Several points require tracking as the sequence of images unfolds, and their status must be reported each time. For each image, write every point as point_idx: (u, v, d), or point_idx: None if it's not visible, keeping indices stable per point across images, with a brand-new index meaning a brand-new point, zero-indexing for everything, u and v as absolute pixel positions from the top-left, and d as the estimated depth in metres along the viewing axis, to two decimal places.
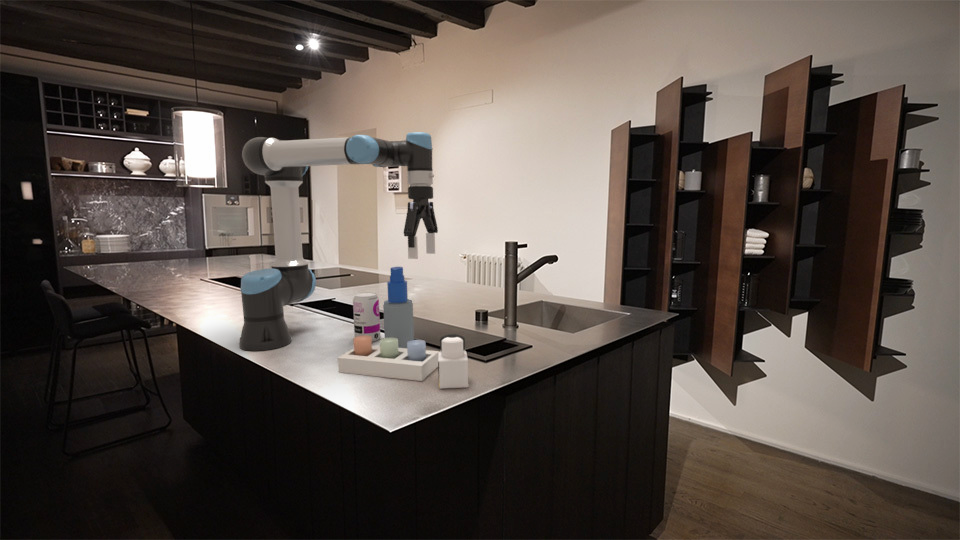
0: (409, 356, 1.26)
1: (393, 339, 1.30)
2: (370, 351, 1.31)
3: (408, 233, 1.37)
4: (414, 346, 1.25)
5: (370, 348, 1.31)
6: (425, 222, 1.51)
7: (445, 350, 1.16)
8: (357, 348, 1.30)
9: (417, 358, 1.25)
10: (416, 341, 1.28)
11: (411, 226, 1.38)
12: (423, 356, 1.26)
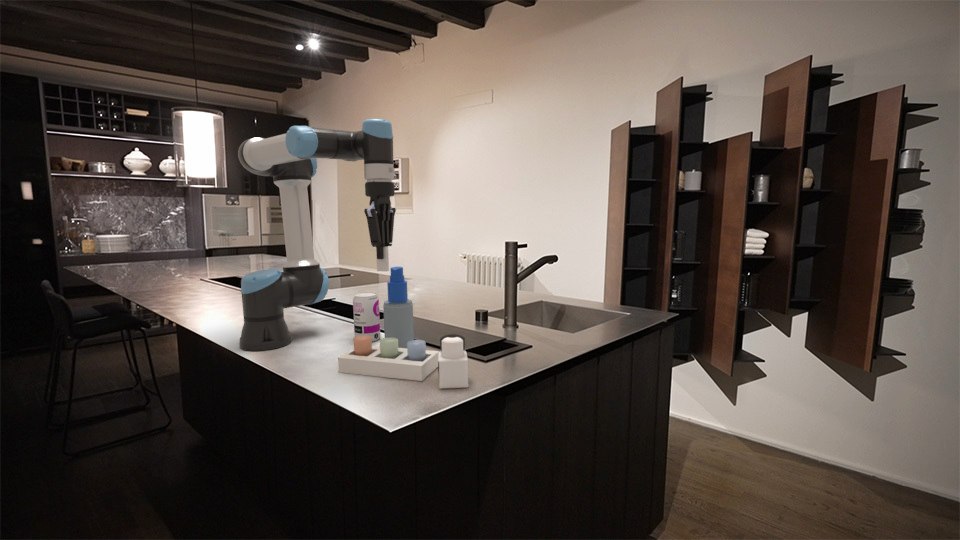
0: (409, 356, 1.26)
1: (393, 339, 1.30)
2: (370, 351, 1.31)
3: (376, 244, 1.25)
4: (414, 346, 1.25)
5: (370, 348, 1.31)
6: None
7: (445, 350, 1.16)
8: (357, 348, 1.30)
9: (417, 358, 1.25)
10: (416, 341, 1.28)
11: (377, 237, 1.23)
12: (423, 356, 1.26)
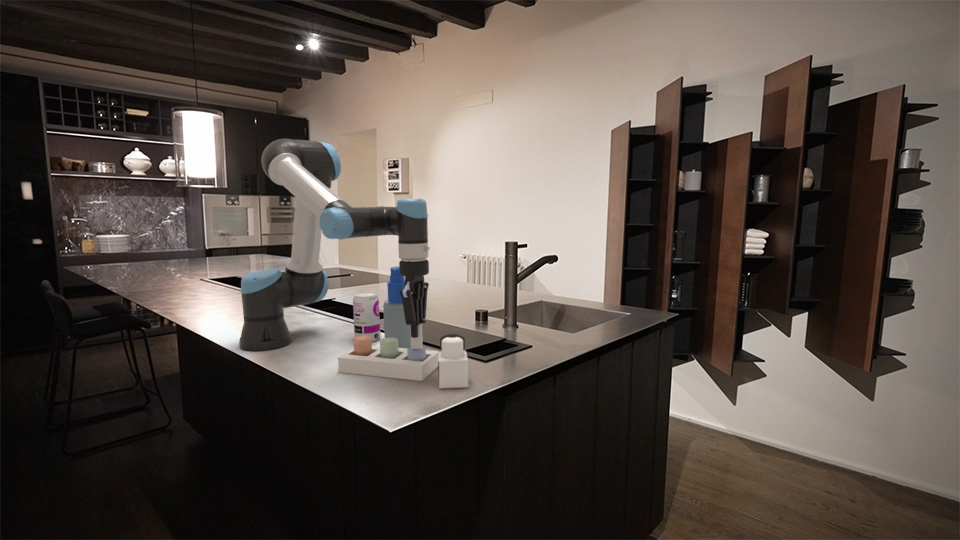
0: None
1: (393, 339, 1.30)
2: (370, 351, 1.31)
3: (411, 324, 1.23)
4: (414, 353, 1.25)
5: (370, 348, 1.31)
6: None
7: (445, 350, 1.16)
8: (357, 348, 1.30)
9: None
10: None
11: (412, 317, 1.22)
12: None
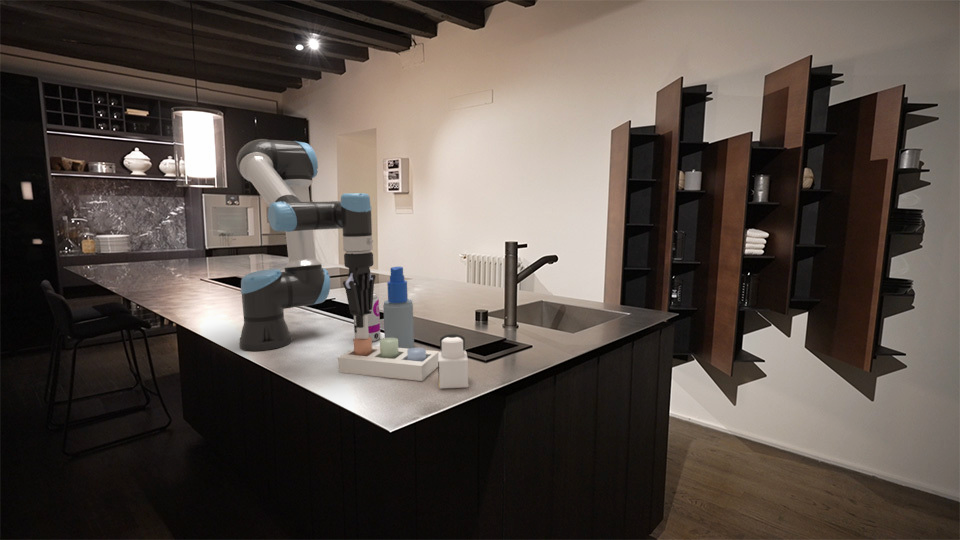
0: None
1: (393, 339, 1.30)
2: (370, 352, 1.31)
3: (355, 314, 1.27)
4: (414, 354, 1.25)
5: (370, 349, 1.31)
6: None
7: (445, 350, 1.16)
8: (357, 349, 1.30)
9: None
10: (416, 349, 1.28)
11: (356, 307, 1.26)
12: None
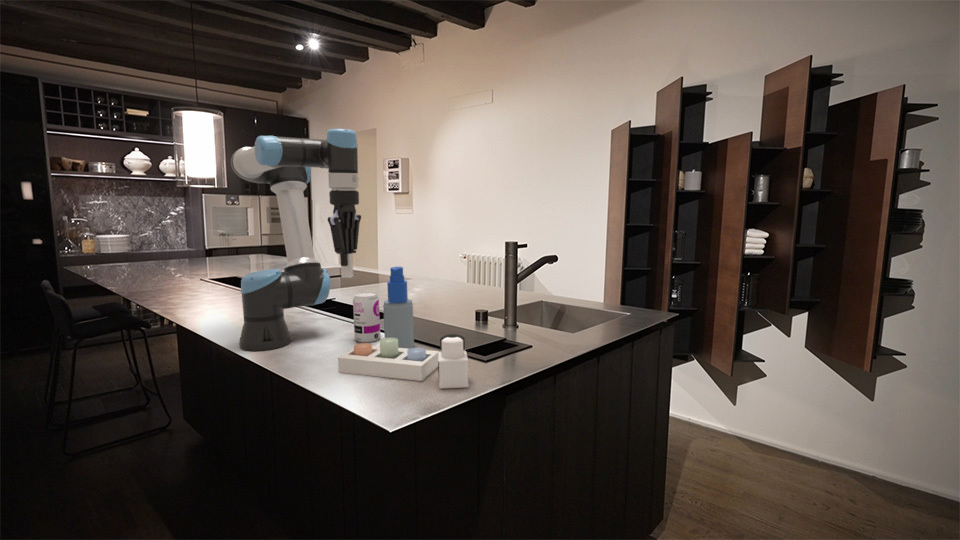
0: None
1: (393, 339, 1.30)
2: None
3: (340, 252, 1.27)
4: (414, 354, 1.25)
5: None
6: None
7: (445, 350, 1.16)
8: None
9: None
10: (416, 349, 1.28)
11: (340, 245, 1.26)
12: None
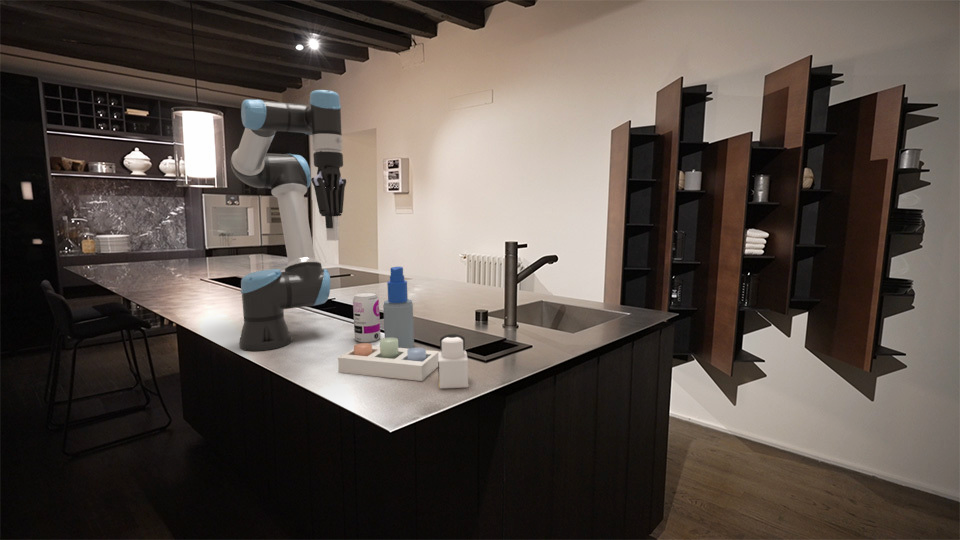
0: None
1: (393, 339, 1.30)
2: None
3: (325, 213, 1.28)
4: (414, 354, 1.25)
5: None
6: None
7: (445, 350, 1.16)
8: None
9: None
10: (416, 349, 1.28)
11: (325, 206, 1.27)
12: None
